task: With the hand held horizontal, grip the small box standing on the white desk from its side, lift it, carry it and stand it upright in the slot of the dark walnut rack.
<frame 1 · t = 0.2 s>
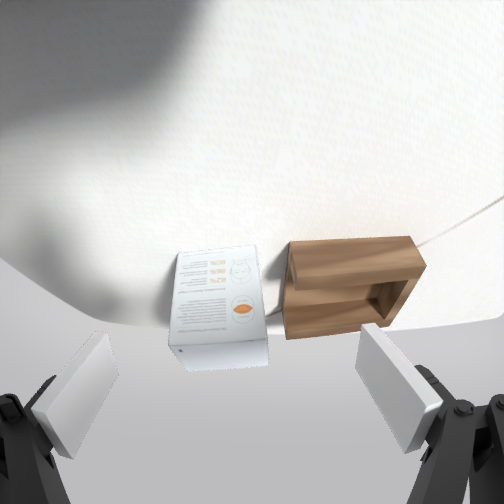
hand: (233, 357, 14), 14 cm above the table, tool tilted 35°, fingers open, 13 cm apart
small box: (220, 264, 31), on the table
rack: (343, 275, 33), on the table
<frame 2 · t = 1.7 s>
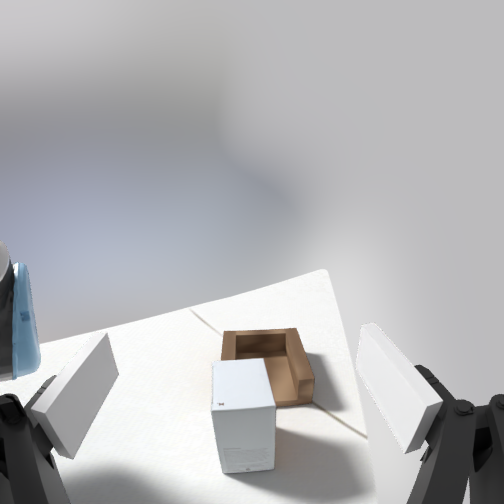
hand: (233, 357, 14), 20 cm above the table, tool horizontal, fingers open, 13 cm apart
small box: (245, 448, 28), on the table
rack: (263, 376, 41), on the table
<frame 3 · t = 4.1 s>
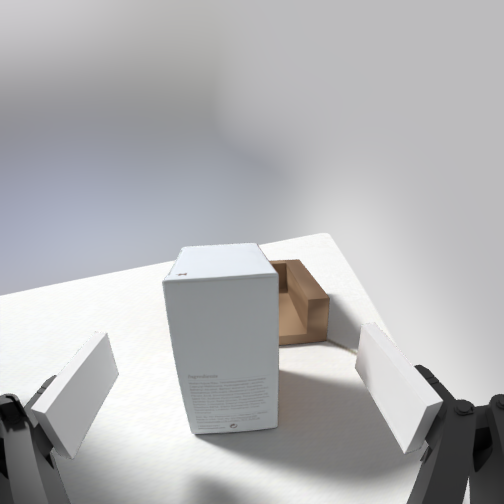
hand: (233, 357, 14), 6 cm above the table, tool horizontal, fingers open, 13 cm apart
small box: (231, 398, 19), on the table
rack: (258, 314, 33), on the table
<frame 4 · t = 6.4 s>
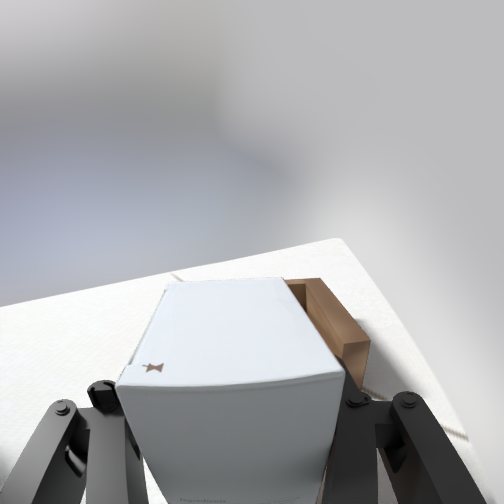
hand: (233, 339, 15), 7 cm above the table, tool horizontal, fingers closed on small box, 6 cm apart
small box: (241, 482, 12), on the table, touching gripper
rack: (272, 350, 26), on the table
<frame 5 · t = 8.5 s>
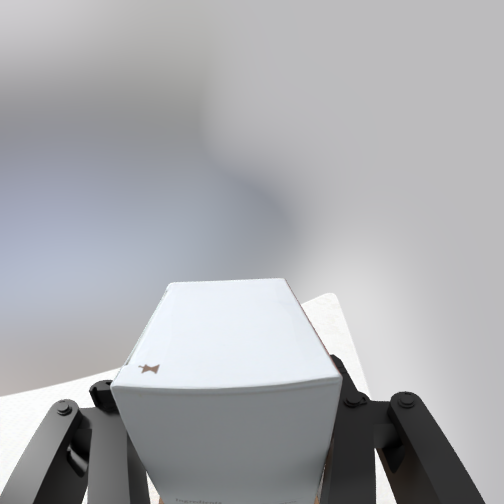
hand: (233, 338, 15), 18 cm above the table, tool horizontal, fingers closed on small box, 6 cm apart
small box: (241, 483, 12), point 11 cm above the table, touching gripper
when the fingers open (9 cm above the table, at t = 10.6 s): small box drops 1 cm, resting on rack.
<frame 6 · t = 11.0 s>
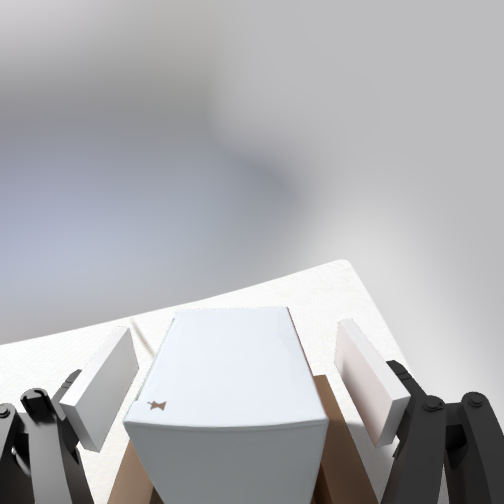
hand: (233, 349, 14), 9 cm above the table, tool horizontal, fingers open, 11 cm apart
small box: (243, 492, 12), point 1 cm above the table, touching rack
rack: (243, 498, 12), on the table
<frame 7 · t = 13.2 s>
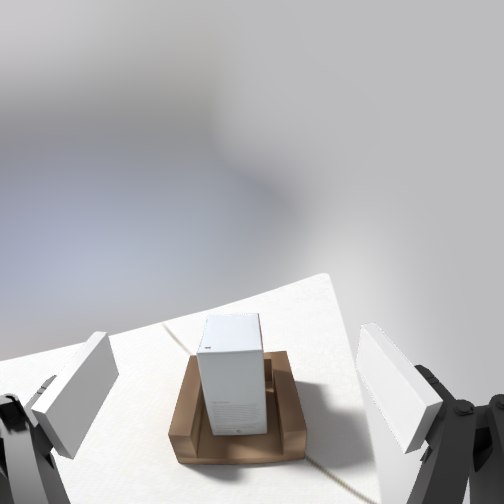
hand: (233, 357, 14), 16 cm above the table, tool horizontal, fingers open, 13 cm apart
small box: (240, 412, 29), point 1 cm above the table, touching rack
rack: (240, 417, 29), on the table
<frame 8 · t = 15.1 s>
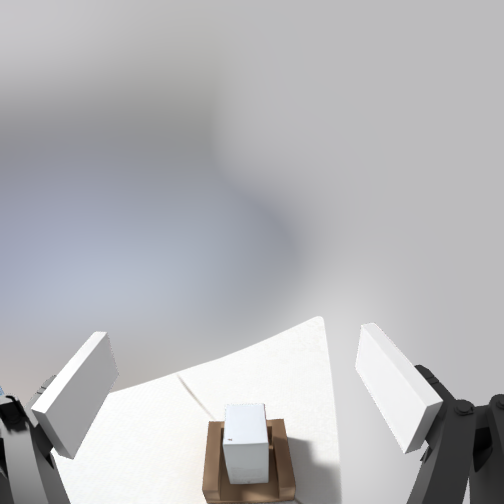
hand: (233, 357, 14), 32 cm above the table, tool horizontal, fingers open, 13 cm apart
small box: (248, 465, 35), point 1 cm above the table, touching rack
rack: (248, 468, 35), on the table
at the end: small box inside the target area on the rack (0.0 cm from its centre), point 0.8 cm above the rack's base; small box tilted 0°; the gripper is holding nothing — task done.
